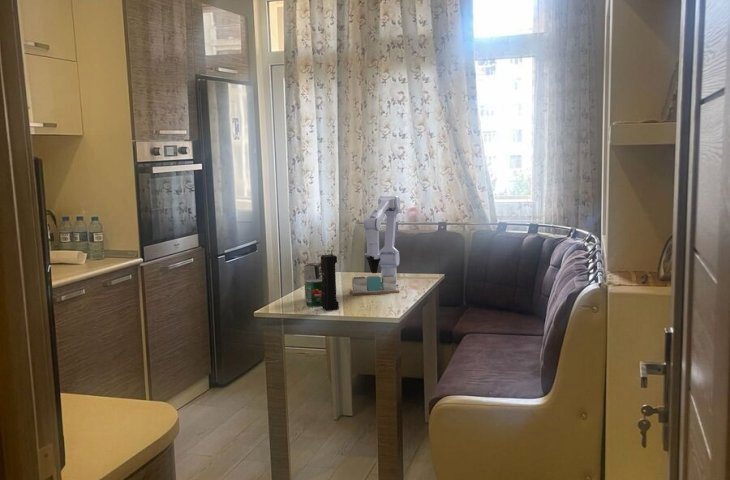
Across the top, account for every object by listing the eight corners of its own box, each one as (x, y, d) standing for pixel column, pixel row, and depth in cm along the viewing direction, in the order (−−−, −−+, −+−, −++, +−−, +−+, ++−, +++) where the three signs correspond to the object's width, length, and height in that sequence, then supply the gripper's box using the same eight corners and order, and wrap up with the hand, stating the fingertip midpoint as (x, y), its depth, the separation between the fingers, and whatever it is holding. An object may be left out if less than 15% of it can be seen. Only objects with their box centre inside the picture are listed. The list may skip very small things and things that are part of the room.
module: (366, 289, 324) (366, 276, 324) (379, 288, 325) (378, 275, 325) (368, 291, 320) (368, 277, 319) (381, 290, 321) (380, 276, 320)
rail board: (349, 292, 325) (349, 276, 324) (395, 289, 329) (394, 273, 328) (352, 295, 316) (352, 279, 316) (399, 292, 320) (399, 276, 319)
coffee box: (318, 301, 305) (317, 265, 304) (304, 301, 307) (303, 265, 305) (324, 297, 314) (322, 262, 312) (310, 297, 316) (309, 262, 314)
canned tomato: (311, 303, 303) (310, 278, 301) (327, 303, 300) (326, 278, 299) (303, 306, 295) (302, 281, 294) (319, 307, 292) (318, 282, 291)
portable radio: (319, 307, 292) (317, 249, 289) (333, 306, 294) (331, 248, 292) (325, 311, 285) (323, 251, 282) (339, 309, 287) (336, 250, 284)
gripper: (361, 242, 327) (362, 270, 328) (367, 245, 312) (368, 275, 314) (376, 241, 328) (377, 269, 329) (382, 245, 314) (383, 274, 315)
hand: (373, 272), depth 322 cm, fingers open, 3 cm apart
